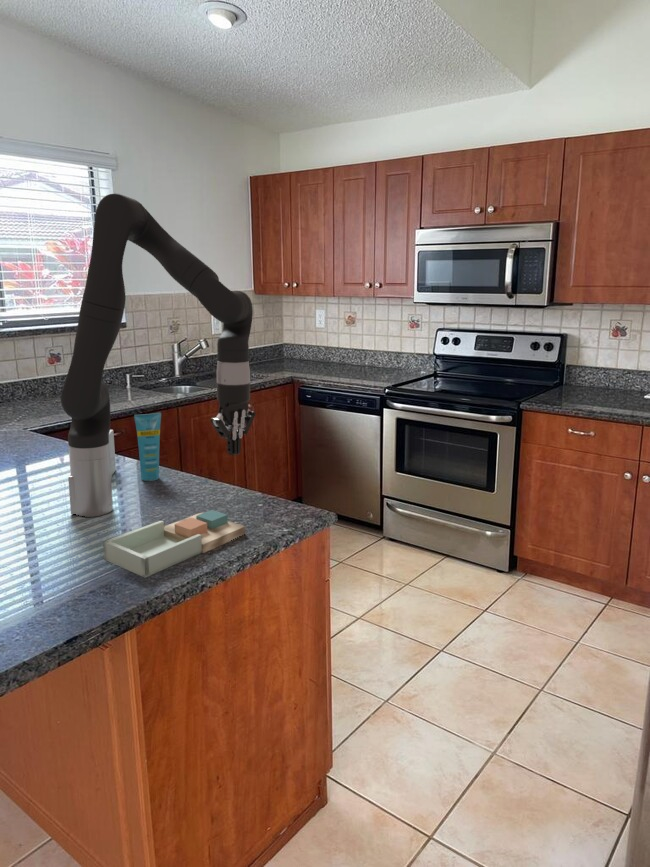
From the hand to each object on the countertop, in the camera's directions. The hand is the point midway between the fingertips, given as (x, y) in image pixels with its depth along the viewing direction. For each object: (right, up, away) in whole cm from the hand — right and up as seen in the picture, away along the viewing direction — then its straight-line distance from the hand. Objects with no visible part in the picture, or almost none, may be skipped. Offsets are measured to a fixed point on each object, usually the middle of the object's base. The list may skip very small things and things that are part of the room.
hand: (234, 453), depth 150 cm
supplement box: (-44, -7, +37) cm, 58 cm away
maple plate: (-7, -18, -4) cm, 20 cm away
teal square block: (-5, -16, -2) cm, 17 cm away
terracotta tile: (-9, -17, -7) cm, 21 cm away
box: (-15, -21, -15) cm, 30 cm away
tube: (-29, -8, +34) cm, 46 cm away
